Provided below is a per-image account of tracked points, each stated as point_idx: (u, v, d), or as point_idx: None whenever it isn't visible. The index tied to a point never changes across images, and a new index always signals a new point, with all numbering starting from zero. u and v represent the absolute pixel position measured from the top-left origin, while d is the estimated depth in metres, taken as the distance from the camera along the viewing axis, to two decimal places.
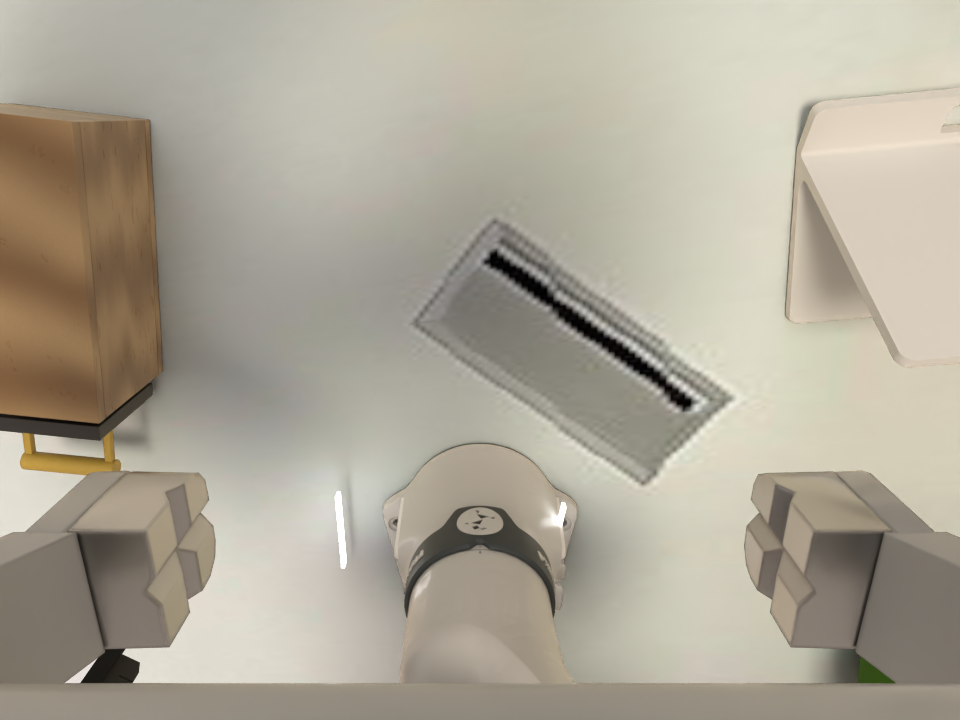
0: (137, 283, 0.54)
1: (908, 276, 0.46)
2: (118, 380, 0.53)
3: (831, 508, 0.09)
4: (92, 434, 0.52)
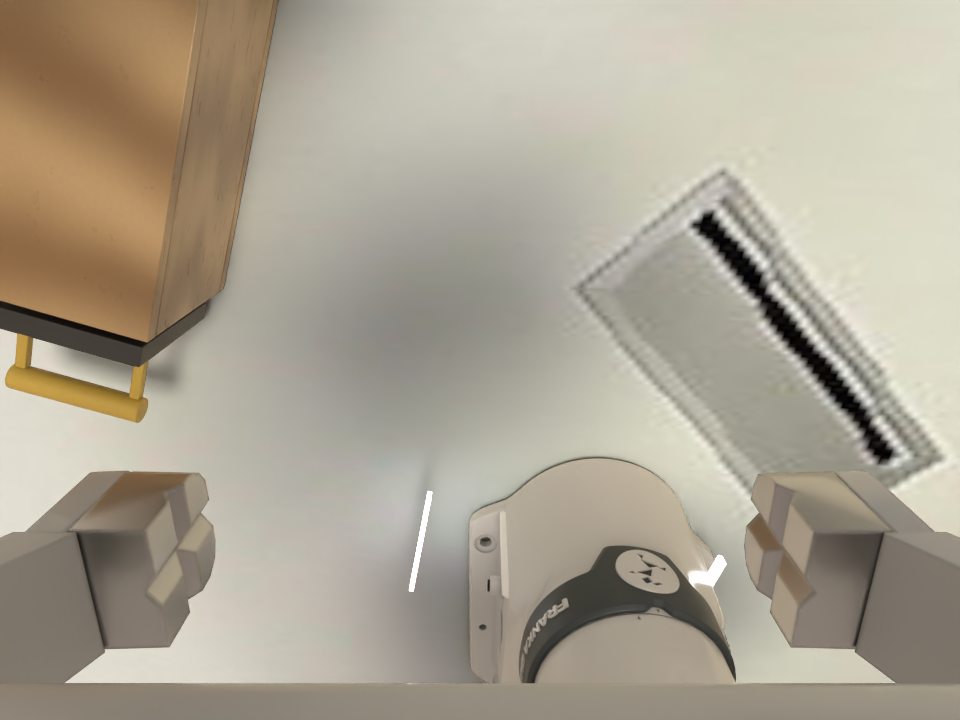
0: (229, 154, 0.38)
1: None
2: (180, 286, 0.36)
3: (831, 508, 0.09)
4: (130, 356, 0.35)
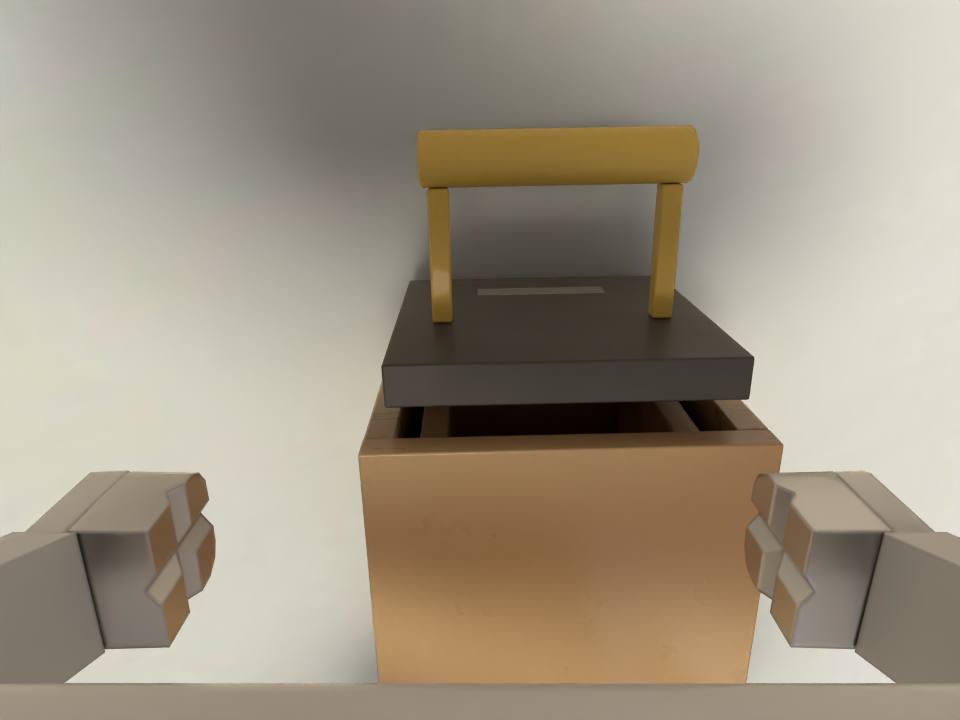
0: None
1: None
2: None
3: (831, 508, 0.09)
4: (403, 383, 0.17)
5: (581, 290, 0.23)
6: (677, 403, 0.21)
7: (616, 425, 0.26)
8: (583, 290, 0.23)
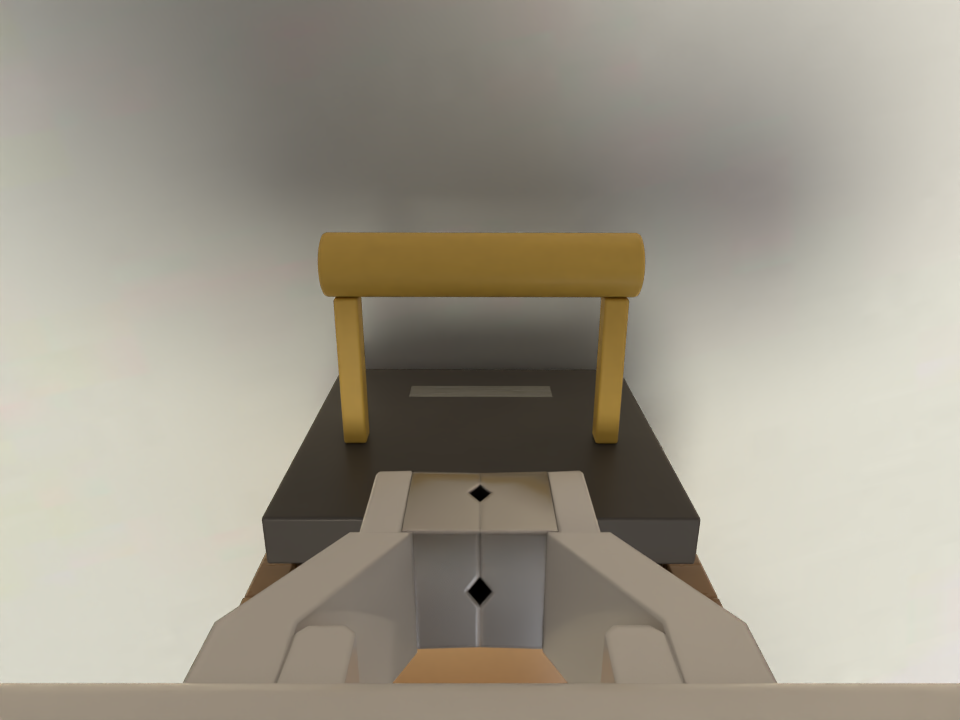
0: None
1: None
2: None
3: (516, 508, 0.09)
4: (287, 537, 0.15)
5: (526, 392, 0.21)
6: None
7: None
8: (528, 392, 0.21)
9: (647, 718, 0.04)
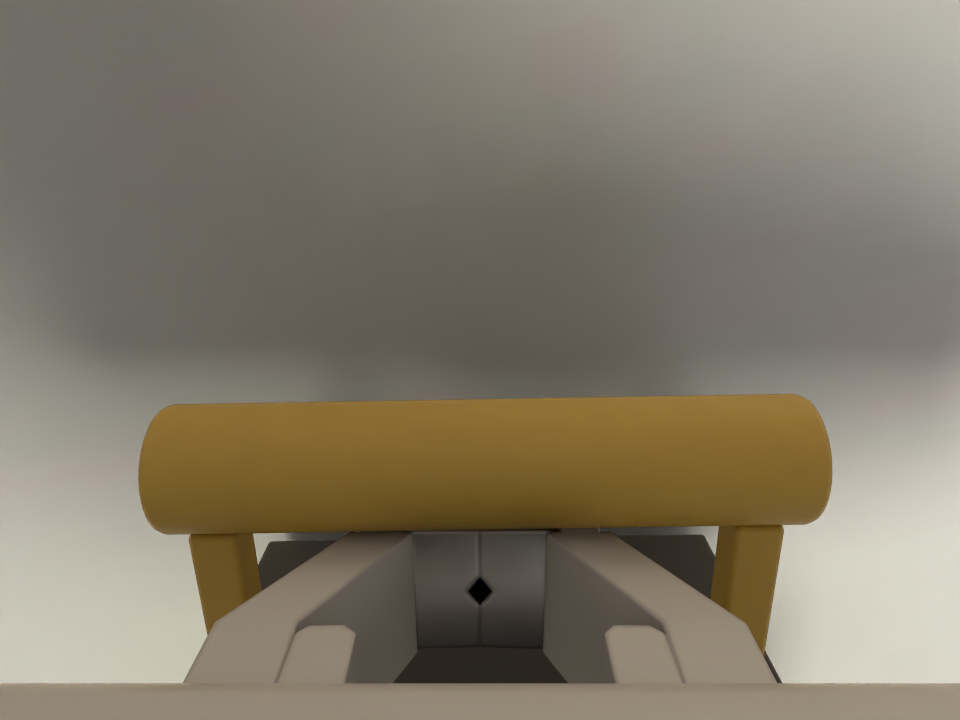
0: None
1: None
2: None
3: None
4: None
5: None
6: None
7: None
8: None
9: (647, 718, 0.04)
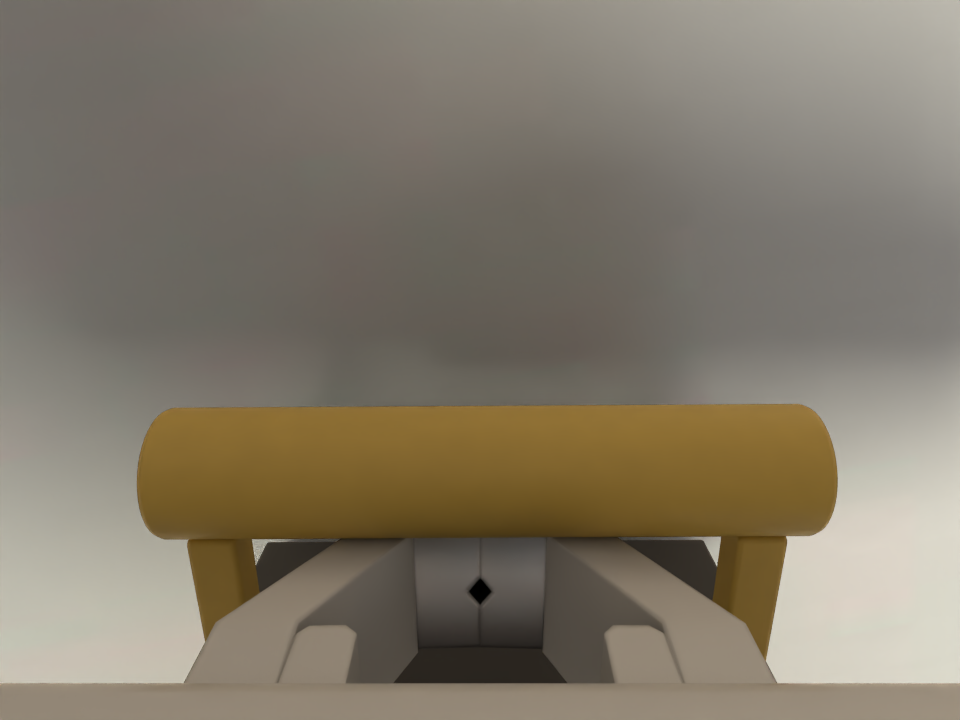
0: None
1: None
2: None
3: None
4: None
5: None
6: None
7: None
8: None
9: (647, 718, 0.04)
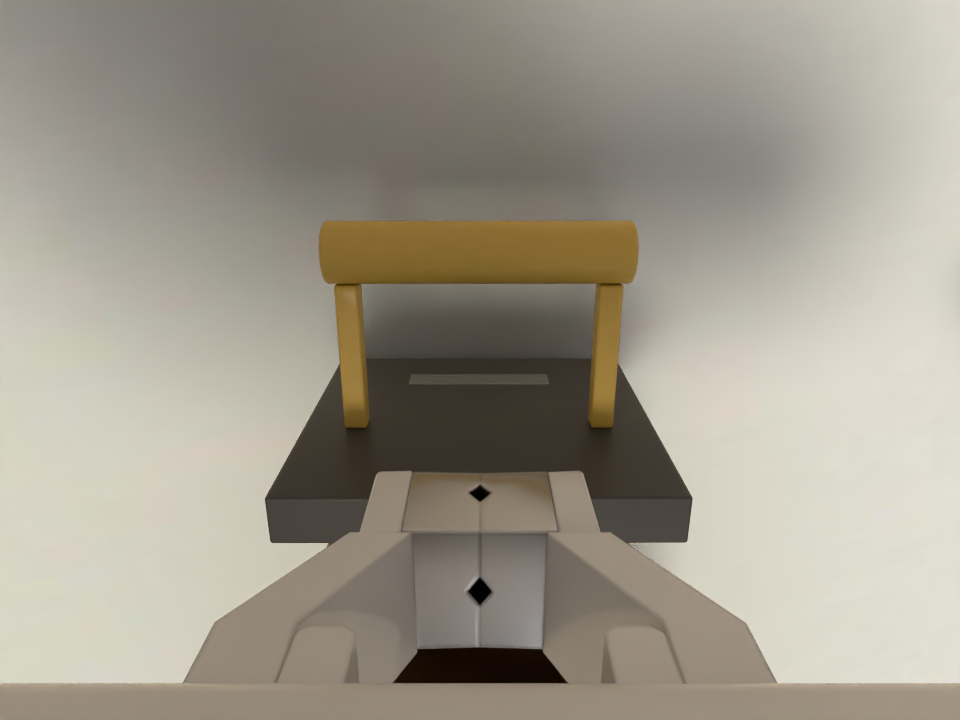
0: None
1: None
2: None
3: (515, 508, 0.09)
4: (290, 517, 0.15)
5: (524, 380, 0.21)
6: None
7: None
8: (526, 380, 0.21)
9: (647, 718, 0.04)
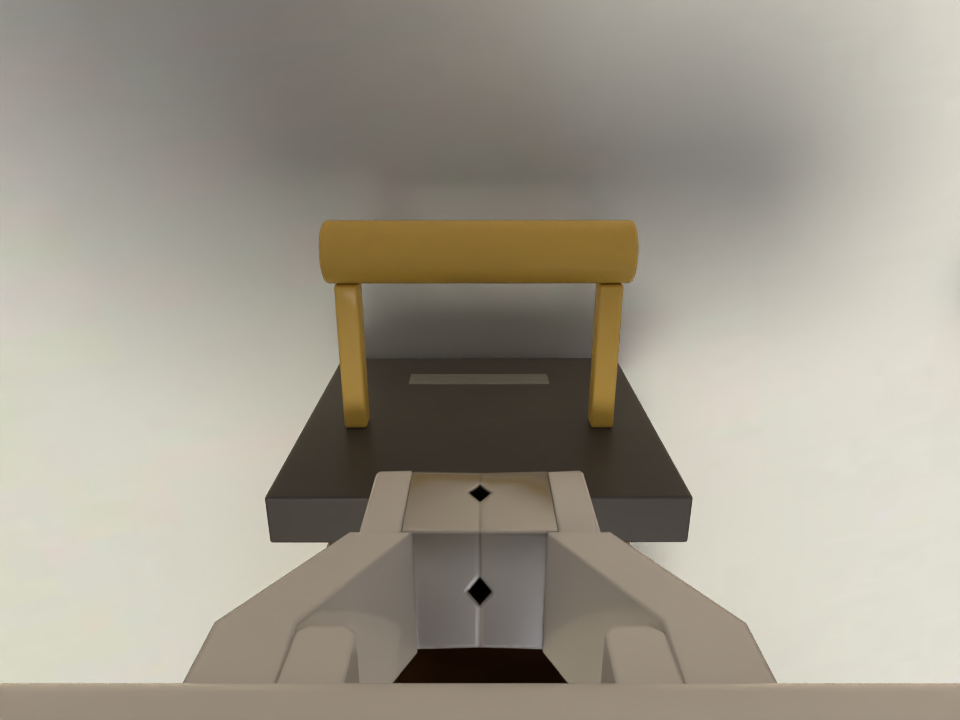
0: None
1: None
2: None
3: (515, 508, 0.09)
4: (290, 517, 0.15)
5: (524, 379, 0.21)
6: None
7: None
8: (526, 379, 0.21)
9: (647, 718, 0.04)
